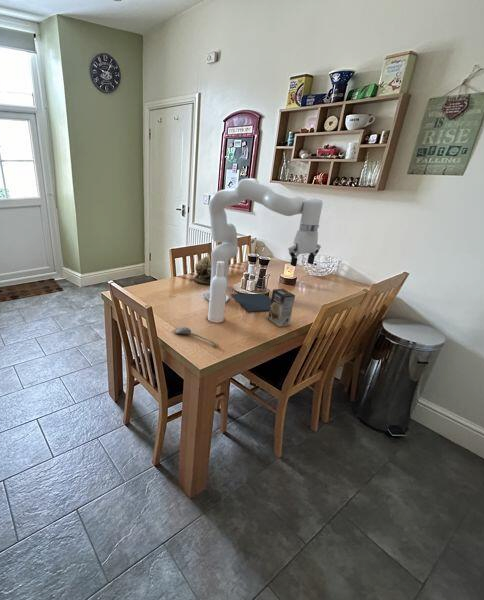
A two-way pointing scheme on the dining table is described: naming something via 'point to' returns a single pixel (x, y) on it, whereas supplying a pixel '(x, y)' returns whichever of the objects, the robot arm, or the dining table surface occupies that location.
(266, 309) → the mat
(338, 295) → the dining table surface
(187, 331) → the soupspoon
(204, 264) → the owl figurine
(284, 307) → the coffee box
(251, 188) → the robot arm
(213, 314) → the bottle
